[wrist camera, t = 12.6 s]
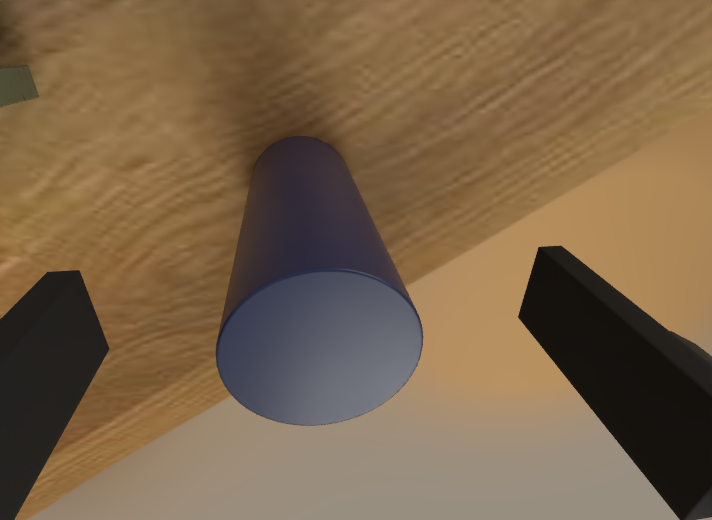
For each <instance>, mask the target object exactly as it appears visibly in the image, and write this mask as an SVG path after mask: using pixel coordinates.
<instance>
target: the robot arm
mask: <svg viewBox="0 0 712 520" xmlns="http://www.w3.org/2000/svg"><path fill="white" fill-rule="evenodd" d="M518 318H519V319H520V320H521V321H522V323H523V324H524V325H525V326H526V328H527V329H528V330H529V331H530V333H531V334H532V335H533V336H534V338H535V339H536V340H537V341H538V343H539V344H540V345H541V346H542V348H543V349H544V350H545V351H546V353H547V354H548V355H549V356H550V358H551V359H552V360H553V361H554V362H555V364H556V365H557V366H558V368H559V369H560V370H561V372H562V373H563V374H564V375H565V376H566V378H567V379H568V380H569V381H570V383H571V384H572V385H573V387H574V388H575V389H576V390H577V391H578V393H579V394H580V395H581V396H582V398H583V399H584V400H585V402H586V403H587V404H588V405H589V407H590V408H591V409H592V410H593V411H594V413H595V414H596V415H597V417H598V418H599V419H600V420H601V422H602V423H603V424H604V425H605V426H606V428H607V429H608V430H609V432H610V433H611V434H612V435H613V436H614V438H615V439H616V440H617V441H618V443H619V444H620V445H621V447H622V448H623V449H624V450H625V452H626V453H627V454H628V455H629V457H630V458H631V459H632V460H633V462H634V463H635V464H636V465H637V467H638V468H639V469H640V470H641V472H642V473H643V474H644V475H645V477H646V478H647V479H648V480H649V482H650V483H651V484H652V485H653V487H654V488H655V489H656V490H657V492H658V493H659V494H660V495H661V497H662V498H663V499H664V500H665V502H666V503H667V504H668V505H669V507H670V508H671V509H672V510H673V512H674V513H675V514H676V515H677V517H678V518H679V519H680V520H697V519H703V518H709V517H712V356H710V355H709V354H708V353H706V352H705V351H704V350H703V349H701V348H700V347H699V346H698V345H696V344H694V343H692V342H691V341H689V340H687V339H685V338H683V337H681V336H679V335H677V334H675V333H674V332H672V331H668V330H667V329H666V328H664V327H663V326H662V325H661V324H659V323H658V322H657V321H656V320H654V319H653V318H652V317H651V316H649V315H648V314H647V313H645V312H644V311H643V310H641V309H640V308H639V307H638V306H637V305H635V304H634V303H633V302H632V301H630V300H629V299H628V298H626V297H625V296H624V295H623V294H621V293H620V292H619V291H618V290H616V289H615V288H614V287H613V286H611V285H610V284H609V283H608V282H606V281H605V280H604V279H603V278H601V277H600V276H599V275H598V274H596V273H595V272H594V271H592V270H591V269H590V268H589V267H587V266H586V265H585V264H584V263H582V262H581V261H580V260H579V259H577V258H576V257H575V256H574V255H572V254H571V253H570V252H569V251H567V250H566V249H565V248H563V247H562V246H547V247H539V248H538V251H537V255H536V258H535V262H534V265H533V268H532V271H531V275H530V278H529V282H528V285H527V289H526V292H525V295H524V299H523V302H522V306H521V309H520V312H519V316H518ZM108 351H109V346H108V344H107V341H106V339H105V336H104V333H103V331H102V328H101V326H100V323H99V320H98V318H97V315H96V312H95V310H94V307H93V305H92V302H91V299H90V297H89V294H88V292H87V289H86V286H85V284H84V281H83V279H82V276H81V273H80V271H79V270H76V271H57V272H47V273H46V274H45V275H44V276H43V277H42V278H41V279H40V280H39V281H38V282H37V283H36V284H35V285H34V286H33V287H32V288H31V289H30V290H29V291H28V292H27V293H26V294H25V295H24V296H23V297H22V298H21V299H20V300H19V301H18V302H17V303H16V304H15V305H14V306H13V307H12V308H11V309H10V310H9V311H8V312H7V313H6V314H5V315H4V316H3V317H2V318H1V319H0V520H14V519H15V517H16V516H17V514H18V512H19V510H20V508H21V507H22V505H23V503H24V501H25V499H26V498H27V496H28V494H29V492H30V490H31V489H32V487H33V485H34V483H35V481H36V480H37V478H38V476H39V474H40V473H41V471H42V469H43V467H44V465H45V464H46V462H47V460H48V458H49V456H50V455H51V453H52V451H53V449H54V447H55V446H56V444H57V442H58V440H59V438H60V437H61V435H62V433H63V431H64V429H65V428H66V426H67V424H68V422H69V421H70V419H71V417H72V415H73V413H74V412H75V410H76V408H77V406H78V404H79V403H80V401H81V399H82V397H83V395H84V394H85V392H86V390H87V388H88V386H89V385H90V383H91V381H92V379H93V377H94V376H95V374H96V372H97V370H98V368H99V367H100V365H101V363H102V361H103V360H104V358H105V356H106V354H107V352H108Z"/></svg>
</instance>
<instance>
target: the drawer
mask: <svg viewBox="0 0 712 520" xmlns="http://www.w3.org/2000/svg"><path fill="white" fill-rule="evenodd" d="M37 97H39V95H38V92H37V89H36V86H35V83H34V81H33V78H32V75H31V72H30V69H29V66H28V65H0V107H3V106H7V105H11V104H14V103H18V102H22V101H26V100H30V99H33V98H37Z"/></svg>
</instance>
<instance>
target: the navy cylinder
mask: <svg viewBox="0 0 712 520" xmlns="http://www.w3.org/2000/svg"><path fill="white" fill-rule="evenodd" d="M422 345H423V331H422V324H421V321H420V318H419V315H418V313H417V311H416V309H415V307H414V305H413V303H412V301H411V299H410V297H409V294H408V292H407V290H406V288H405V286H404V284H403V282H402V280H401V278H400V276H399V274H398V272H397V270H396V267H395V265H394V263H393V261H392V259H391V257H390V255H389V253H388V251H387V249H386V247H385V245H384V243H383V241H382V239H381V236H380V234H379V232H378V230H377V228H376V226H375V224H374V222H373V220H372V218H371V216H370V214H369V212H368V210H367V207H366V205H365V203H364V201H363V199H362V197H361V195H360V193H359V191H358V189H357V187H356V185H355V183H354V181H353V179H352V176H351V174H350V172H349V170H348V168H347V166H346V164H345V162H344V160H343V159H342V157H341V156H340V155H339V154H338V152H337V151H336V150H335V149H333V148H332V147H331V146H330V145H328V144H327V143H325V142H323V141H321V140H318V139H315V138H311V137H305V136H296V137H289V138H285V139H282V140H280V141H278V142H276V143H274V144H272V145H271V146H270V147H268V148H267V149H266V150H265V151H264V152H263V153H262V155H261V156H260V157H259V159H258V160H257V162H256V164H255V167H254V169H253V173H252V178H251V182H250V187H249V192H248V197H247V201H246V206H245V211H244V216H243V220H242V225H241V230H240V235H239V239H238V244H237V249H236V254H235V258H234V263H233V268H232V273H231V277H230V282H229V287H228V292H227V296H226V301H225V306H224V311H223V315H222V320H221V325H220V330H219V334H218V339H217V344H216V363H217V368H218V371H219V375H220V377H221V379H222V381H223V383H224V385H225V387H226V388H227V390H228V391H229V392H230V394H231V395H232V396H233V397H234V398H235V399H236V400H237V401H238V402H239V403H240V404H242V405H243V406H244V407H246V408H247V409H249V410H250V411H252V412H254V413H256V414H257V415H260V416H262V417H265V418H267V419H270V420H273V421H277V422H281V423H286V424H292V425H309V426H314V425H326V424H332V423H338V422H342V421H346V420H349V419H352V418H355V417H358V416H360V415H363V414H365V413H367V412H369V411H371V410H373V409H375V408H377V407H379V406H380V405H382V404H383V403H385V402H386V401H387V400H389V399H390V398H391V397H393V396H394V395H395V394H396V393H397V392H398V391H399V390H400V389H401V388H402V387H403V386H404V385H405V384H406V382H407V381H408V380H409V378H410V377H411V376H412V374H413V372H414V370H415V368H416V366H417V364H418V361H419V359H420V356H421V351H422Z"/></svg>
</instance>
